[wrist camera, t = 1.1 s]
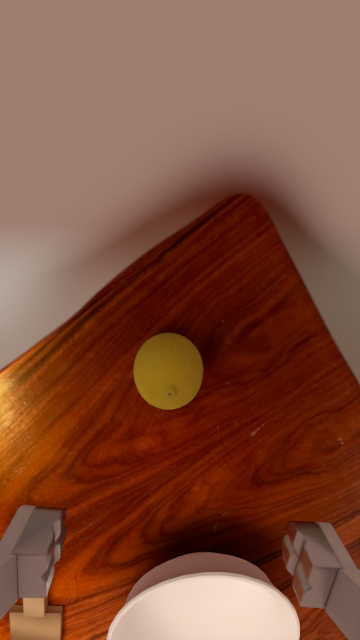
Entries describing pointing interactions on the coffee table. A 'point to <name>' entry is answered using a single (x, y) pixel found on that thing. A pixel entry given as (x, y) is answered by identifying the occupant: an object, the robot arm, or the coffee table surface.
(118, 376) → the coffee table surface
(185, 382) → the lemon
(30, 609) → the spatula
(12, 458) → the coffee table surface
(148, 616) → the bowl
